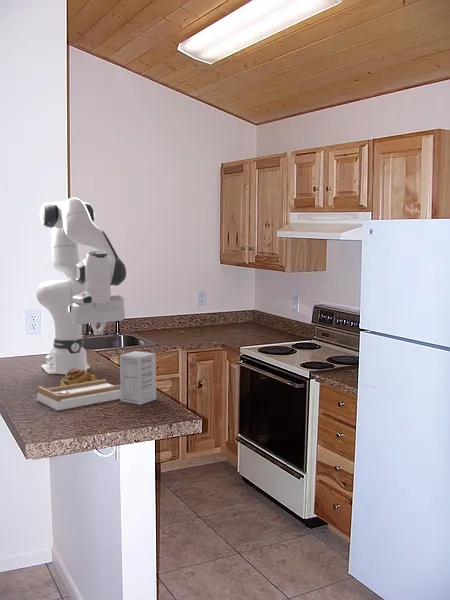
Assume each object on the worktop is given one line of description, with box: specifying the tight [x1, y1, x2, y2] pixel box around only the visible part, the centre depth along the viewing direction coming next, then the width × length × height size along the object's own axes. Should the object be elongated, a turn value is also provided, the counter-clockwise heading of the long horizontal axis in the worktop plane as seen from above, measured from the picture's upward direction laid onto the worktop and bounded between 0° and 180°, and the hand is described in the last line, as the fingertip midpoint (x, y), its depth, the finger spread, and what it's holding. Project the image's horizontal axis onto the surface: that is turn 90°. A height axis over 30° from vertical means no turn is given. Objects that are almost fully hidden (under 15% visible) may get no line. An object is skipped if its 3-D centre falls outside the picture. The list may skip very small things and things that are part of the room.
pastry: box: [59, 368, 99, 387], centre depth 243 cm, size 13×15×8 cm
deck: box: [36, 378, 121, 411], centre depth 226 cm, size 16×26×5 cm, turn 130°
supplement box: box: [119, 350, 157, 406], centre depth 224 cm, size 10×9×17 cm
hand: (98, 334), depth 230 cm, fingers closed
